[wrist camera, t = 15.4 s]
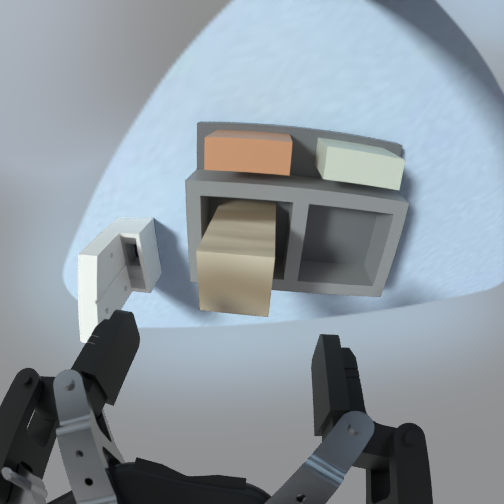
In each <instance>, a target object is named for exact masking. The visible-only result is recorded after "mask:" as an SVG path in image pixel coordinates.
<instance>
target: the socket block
mask: <svg viewBox="0 0 504 504" xmlns="http://www.w3.org/2000/svg"><path fill="white" fill-rule="evenodd" d="M401 151H402V145H400V144H398V143H394V142H389V141H385V140H380V139H375V138H370V137H364V136H359V135H353V134H347V133H341V132H334V131H327V130H320V129H312V128H303V127H294V126H283V125H272V124H257V123H238V122H198V123H197V170H196V171H195V172H193V173H192V174H191V175H190V176H189V177H188V178H187V179H186V180H185V188H186V215H187V235H188V252H189V267H190V280H191V282H194V283H198V274H197V256H196V250H197V248H198V246H199V244H200V242H201V240H202V238H203V236H204V234H205V232H206V230H207V228H208V226H209V224H210V222H211V220H212V218H213V216H214V214H215V212H216V210H217V208H218V206H219V204H220V202H221V200H222V198H225V199H240V200H254V201H266V202H276V226H275V262H274V271H273V280H272V289H271V290H279V291H292V292H305V293H320V294H335V295H352V296H371V297H381V294H382V291H383V289H384V286H385V283H386V280H387V277H388V274H389V271H390V268H391V265H392V262H393V259H394V256H395V253H396V249H397V246H398V243H399V239H400V236H401V233H402V229H403V225H404V222H405V218H406V214H407V210H408V206H409V202H408V201H407V200H406V199H405V198H404V197H402V196H401V195H400V194H399V193H398V192H397V191H396V190H399V189H400V184H401V179H402V174H403V169H404V164H405V160H404V159H403V158H401Z"/></svg>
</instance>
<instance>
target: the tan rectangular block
mask: <svg viewBox="0 0 504 504" xmlns="http://www.w3.org/2000/svg"><path fill="white" fill-rule="evenodd" d="M275 226H276V202H266V201H254V200H240V199H225V198H222V200H221V202H220V204H219V206H218V208H217V210H216V212H215V214H214V216H213V218H212V220H211V222H210V224H209V226H208V228H207V230H206V232H205V234H204V236H203V238H202V240H201V242H200V244H199V246H198V248H197V250H196V256H197V274H198V289H199V303H200V310H204V311H213V312H222V313H231V314H242V315H252V316H264V317H268V314H269V306H270V297H271V289H272V280H273V271H274V262H275Z"/></svg>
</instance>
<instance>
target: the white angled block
mask: <svg viewBox="0 0 504 504" xmlns="http://www.w3.org/2000/svg"><path fill="white" fill-rule="evenodd" d="M134 244H136V247H137V252H138V257H136V254H135V249H134ZM161 274H162V271H161V265H160V259H159V253H158V246H157V240H156V233H155V226H154V218H140V217H118V218H117V219H115V220H114V221H113V222H112V223H111V224H110V225H109V226H108V227H107V228H106V229H104V230H103V231H102V232H101V233H100V234H99V235H98V236H97V237H96V238H95V239H94V240H93V241H92V242H91V243H90V244H89V245H88V246H86V247H85V248H84V249H83V250H82V251H81V252H80V253H79V254H78V310H79V327H80V340H81V342H84V343H87V340H88V339H89V337H90V336H91V334H92V332H93V330H94V329H95V327H96V326H97V325H98V324H99V323H100V322H102V321H103V320H104V319H110V317H111V315H112V314H113V312H114V311H115V310H121V309H122V307H123V305H124V304H125V302H126V301H127V299H128V297H129V296H130V294H131V293H132V291H137V292H146V293H151V292H152V290H153V288H154V286H155V285H156V283H157V281H158V279H159V278H160V276H161Z"/></svg>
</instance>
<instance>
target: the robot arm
mask: <svg viewBox="0 0 504 504" xmlns="http://www.w3.org/2000/svg"><path fill="white" fill-rule="evenodd" d="M139 343H140V336H139V332H138V329H137V325H136V322H135V318H134V315H133V313H132V312H128V311H123V310H115V311H114V312H113V314H112V315H111V317H110V319H104V320H103V321H102V322H100V323H99V324H98V325H97V326H96V327H95V329H94V330H93V332H92V334H91V336H90V337H89V339H88V340H87V343H86V344H85V346H84V347H83V349H82V351H81V352H80V354H79V356H78V357H77V359H76V361H75V363H74V365H73V366H72V368H71V369H70V370H64V371H62V372H60V373H59V374H58V375H57V376H56V377H43V376H39V374H38V373H37V372H36V371H35V370H34V369H32V368H25V369H23V370H21V371H20V372H19V373H18V374H17V375H16V377H15V379H14V380H13V382H12V384H11V386H10V388H9V390H8V392H7V394H6V396H5V398H4V400H3V402H2V404H1V406H0V504H325V503H326V502H327V501H328V500H329V498H330V497H331V496H332V495H333V494H334V492H335V491H336V490H337V489H338V487H339V486H340V485H341V483H342V482H343V480H344V476H345V475H346V473H347V472H348V470H349V469H350V468H351V466H354V467H359V468H364V469H366V504H433V499H432V487H431V478H430V468H429V460H428V453H427V446H426V440H425V435H424V432H423V430H422V429H421V428H420V427H419V426H417V425H416V424H413V423H405V424H402V425H400V426H399V427H398V428H394V427H389V426H384V425H381V424H378V423H376V422H374V421H373V420H372V419H371V418H370V417H369V416H368V415H367V413H366V411H365V406H364V400H363V394H362V388H361V383H360V379H359V372H358V367H357V362H356V357H355V356H354V354H353V353H352V351H351V350H350V348H341V345H340V339H339V336H338V335H326V334H325V335H324V334H320V336H319V339H318V342H317V345H316V348H315V352H314V355H313V358H312V366H311V370H312V388H313V406H314V433H315V436H322V443H321V444H320V445H319V446H318V448H317V449H316V450H315V451H314V453H313V454H312V455H311V456H310V457H309V458H308V459H307V460H306V461H305V462H304V463H303V464H302V466H301V467H300V468H299V469H298V470H297V471H296V472H295V473H294V474H293V475H292V476H291V477H290V478H289V480H288V481H287V482H286V483H285V484H284V485H283V486H282V487H281V488H280V489H279V490H278V491H277V492H276V493H275V494H274V495H273V496H272V497H271V496H270V495H269V494H268V493H266V492H265V491H264V490H262V489H260V488H258V487H256V486H254V485H252V484H249V483H246V478H239V477H229V476H222V475H210V476H185V475H183V474H181V473H179V472H177V471H175V470H173V469H171V468H169V467H167V466H164V465H163V464H159V463H155V462H152V461H148V460H144V459H141V458H136V461H135V462H128V463H125V461H124V459H123V457H122V455H121V453H120V451H119V450H118V448H117V446H116V444H115V442H114V439H113V436H112V434H111V431H110V428H109V425H108V422H107V419H106V416H105V413H104V410H103V407H104V405H105V403H107V404H110V405H113V406H114V403H115V401H116V399H117V396H118V394H119V391H120V389H121V387H122V384H123V382H124V380H125V377H126V375H127V372H128V370H129V368H130V366H131V364H132V361H133V359H134V357H135V354H136V352H137V350H138V348H139ZM34 410H35V412H34ZM33 412H34V414H33ZM32 414H33V417H32V419H31V421H30V418H31V416H32ZM29 421H30V424H29V426H28V423H29ZM27 426H28V429H27ZM56 437H57V439H58V444H59V448H60V452H61V455H62V459H63V463H64V466H65V470H66V473H67V476H68V479H69V483H70V486H71V489H72V490H71V491H70V492H68V493H66V494H64V495H62V496H60V497H58V498H57V499H55V500H53V501H51V502H49V503H46V500H45V498H46V497H47V490H46V489H45V485H44V483H43V481H42V479H43V475H44V472H45V469H46V466H47V463H48V460H49V457H50V454H51V451H52V448H53V445H54V442H55V439H56Z"/></svg>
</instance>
